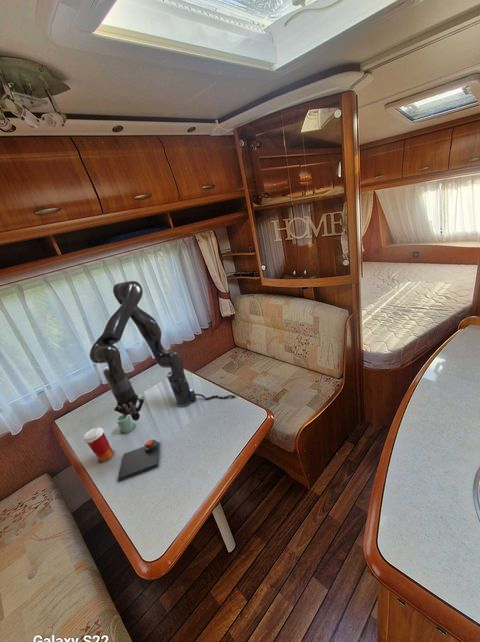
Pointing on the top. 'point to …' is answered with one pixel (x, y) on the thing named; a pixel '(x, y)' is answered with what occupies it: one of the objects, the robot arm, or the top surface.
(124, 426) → the tumbler
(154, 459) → the scale
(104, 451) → the coffee cup
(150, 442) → the tare button
